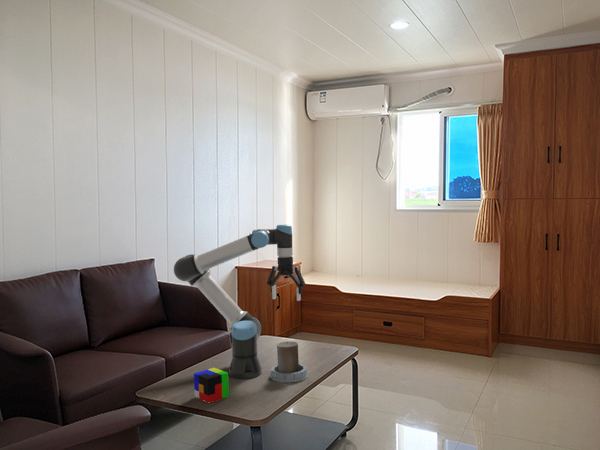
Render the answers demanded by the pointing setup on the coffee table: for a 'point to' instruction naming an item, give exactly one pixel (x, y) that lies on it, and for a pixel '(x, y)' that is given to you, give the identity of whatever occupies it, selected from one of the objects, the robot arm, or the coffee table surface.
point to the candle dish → (289, 375)
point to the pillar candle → (287, 357)
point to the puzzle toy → (211, 384)
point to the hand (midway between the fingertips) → (286, 299)
